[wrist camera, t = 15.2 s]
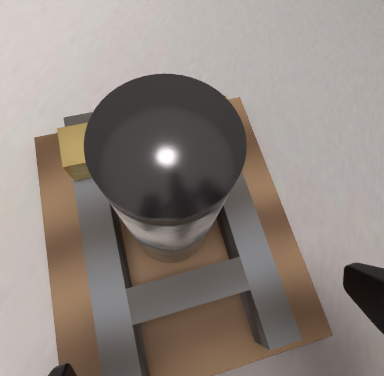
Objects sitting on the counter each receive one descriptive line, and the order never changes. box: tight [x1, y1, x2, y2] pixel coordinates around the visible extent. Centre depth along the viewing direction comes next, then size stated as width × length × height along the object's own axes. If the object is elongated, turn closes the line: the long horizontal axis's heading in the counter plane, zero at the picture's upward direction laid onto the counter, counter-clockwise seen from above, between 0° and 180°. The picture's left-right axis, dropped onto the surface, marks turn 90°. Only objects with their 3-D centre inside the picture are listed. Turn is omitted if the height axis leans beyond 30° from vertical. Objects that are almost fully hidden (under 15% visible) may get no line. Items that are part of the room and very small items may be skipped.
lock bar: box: [57, 96, 227, 181], centre depth 17 cm, size 2×10×2 cm, turn 105°
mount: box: [34, 97, 332, 376], centre depth 18 cm, size 18×16×4 cm
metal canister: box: [84, 74, 247, 263], centre depth 14 cm, size 5×5×12 cm
